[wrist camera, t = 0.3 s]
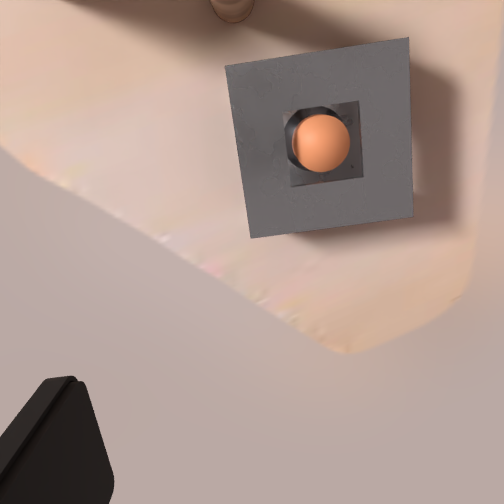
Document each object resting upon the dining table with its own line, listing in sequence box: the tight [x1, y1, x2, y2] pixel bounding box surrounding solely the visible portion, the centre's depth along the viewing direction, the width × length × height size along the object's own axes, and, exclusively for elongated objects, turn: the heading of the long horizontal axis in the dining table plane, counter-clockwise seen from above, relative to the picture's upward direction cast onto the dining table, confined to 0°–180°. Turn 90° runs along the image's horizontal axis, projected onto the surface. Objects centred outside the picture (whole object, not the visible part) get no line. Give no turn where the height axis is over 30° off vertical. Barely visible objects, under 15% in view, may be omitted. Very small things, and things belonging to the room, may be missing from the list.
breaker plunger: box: [292, 114, 350, 172], centre depth 32 cm, size 4×4×2 cm
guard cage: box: [225, 37, 413, 239], centre depth 33 cm, size 12×12×6 cm
